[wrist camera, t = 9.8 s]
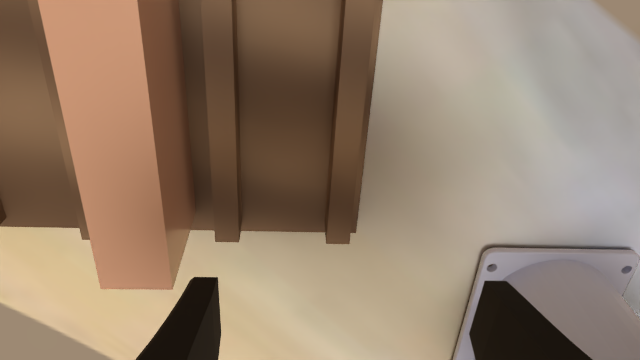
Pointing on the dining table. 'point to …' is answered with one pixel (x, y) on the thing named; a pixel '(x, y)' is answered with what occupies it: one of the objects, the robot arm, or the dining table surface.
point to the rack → (217, 116)
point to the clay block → (126, 132)
